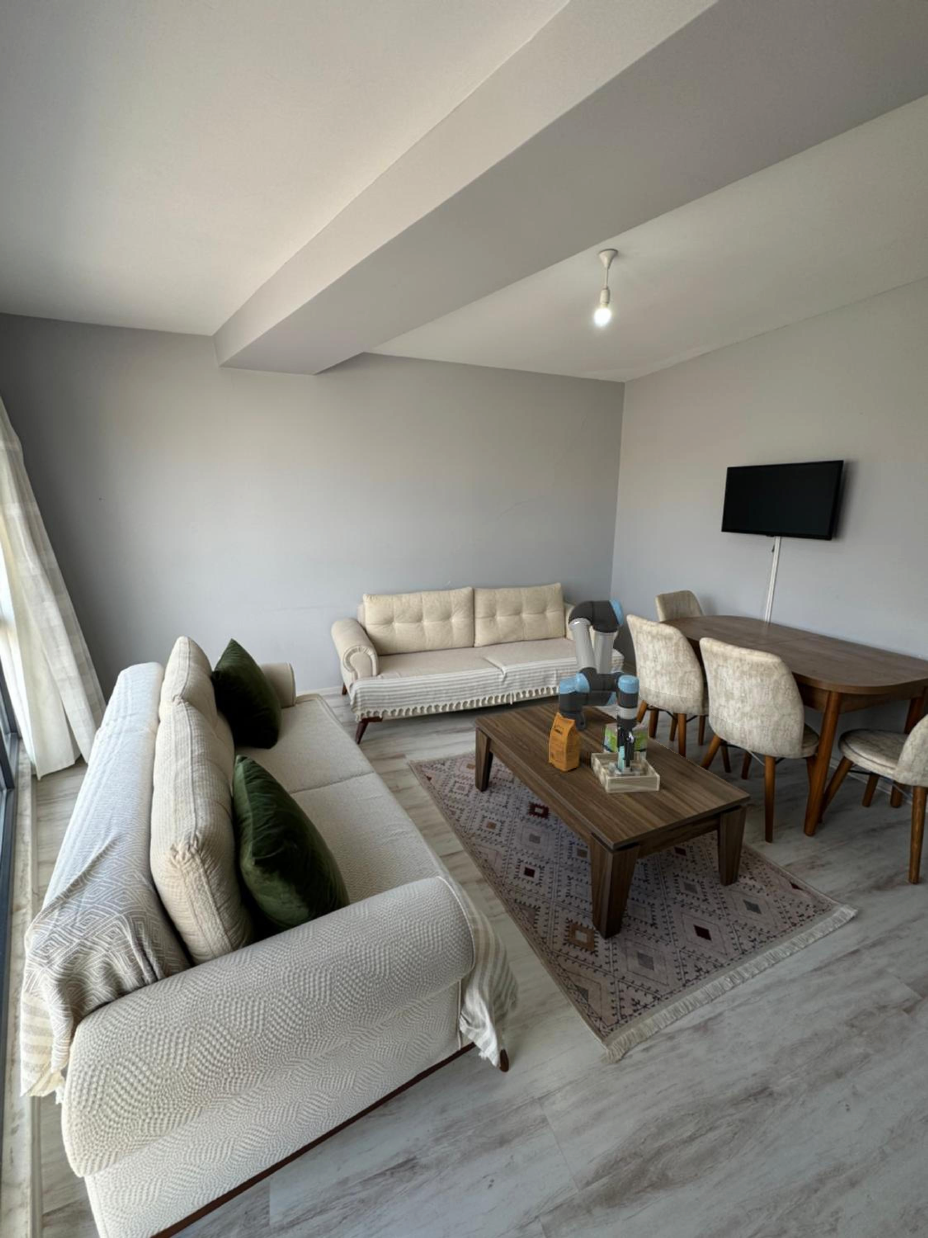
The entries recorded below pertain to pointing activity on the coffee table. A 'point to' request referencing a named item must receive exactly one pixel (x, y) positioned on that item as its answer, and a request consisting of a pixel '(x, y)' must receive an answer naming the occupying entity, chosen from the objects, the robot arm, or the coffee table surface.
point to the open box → (624, 774)
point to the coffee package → (564, 744)
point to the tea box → (638, 732)
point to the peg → (621, 758)
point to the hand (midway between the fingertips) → (623, 770)
